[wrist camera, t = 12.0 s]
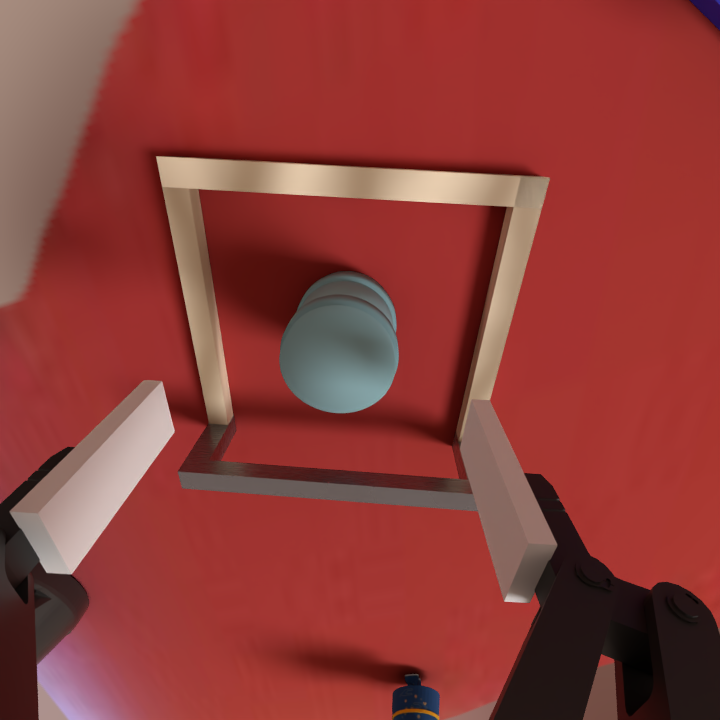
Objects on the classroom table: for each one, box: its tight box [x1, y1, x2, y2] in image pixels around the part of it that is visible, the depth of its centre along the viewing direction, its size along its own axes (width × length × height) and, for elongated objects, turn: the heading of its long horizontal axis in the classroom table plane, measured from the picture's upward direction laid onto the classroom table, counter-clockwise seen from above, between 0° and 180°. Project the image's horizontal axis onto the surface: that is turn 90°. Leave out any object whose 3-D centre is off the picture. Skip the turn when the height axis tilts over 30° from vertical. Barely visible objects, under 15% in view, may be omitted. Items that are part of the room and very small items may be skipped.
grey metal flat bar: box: [178, 415, 478, 511], centre depth 28 cm, size 21×2×6 cm, turn 87°
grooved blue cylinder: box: [280, 271, 399, 413], centre depth 22 cm, size 6×6×7 cm
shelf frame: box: [156, 156, 550, 442], centre depth 25 cm, size 21×20×1 cm
